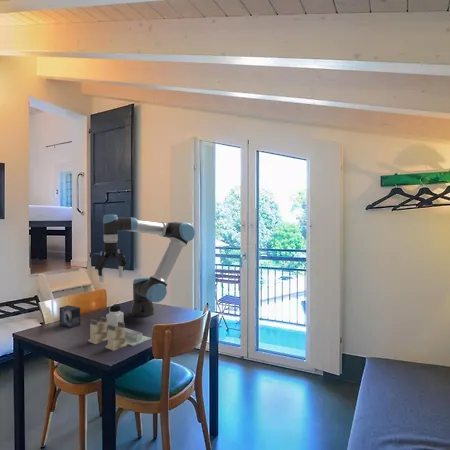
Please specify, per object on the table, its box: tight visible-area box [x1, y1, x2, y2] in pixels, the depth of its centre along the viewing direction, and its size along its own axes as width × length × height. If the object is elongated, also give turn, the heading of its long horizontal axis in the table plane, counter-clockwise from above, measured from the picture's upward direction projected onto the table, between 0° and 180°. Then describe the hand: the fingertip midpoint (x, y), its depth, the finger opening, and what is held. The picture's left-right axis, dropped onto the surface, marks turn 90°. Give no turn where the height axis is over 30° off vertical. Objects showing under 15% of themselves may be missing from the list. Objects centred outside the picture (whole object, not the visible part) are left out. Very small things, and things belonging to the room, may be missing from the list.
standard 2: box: [105, 322, 128, 352], centre depth 170 cm, size 8×6×11 cm
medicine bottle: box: [105, 303, 125, 328], centre depth 202 cm, size 7×7×12 cm
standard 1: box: [87, 316, 108, 345], centre depth 178 cm, size 8×6×11 cm
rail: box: [113, 325, 143, 342], centre depth 183 cm, size 22×4×4 cm, turn 55°
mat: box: [107, 331, 152, 347], centre depth 183 cm, size 12×26×1 cm, turn 55°
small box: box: [58, 304, 81, 329], centre depth 201 cm, size 11×6×10 cm, turn 62°
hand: (111, 279), depth 198 cm, fingers open, 13 cm apart
